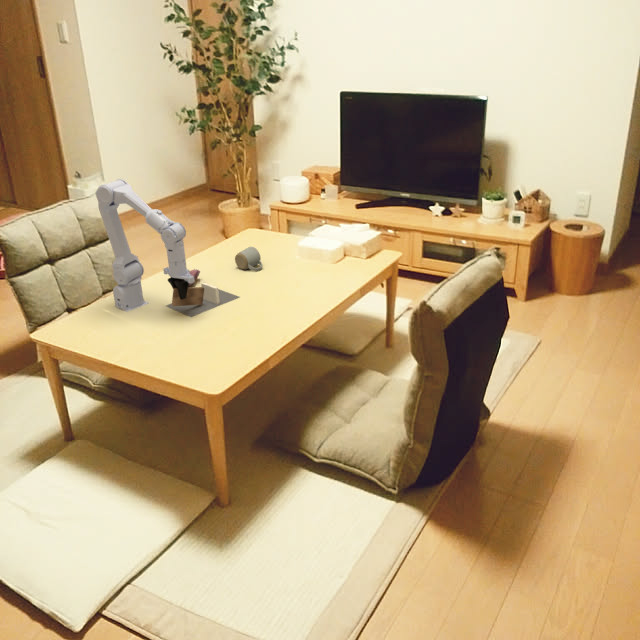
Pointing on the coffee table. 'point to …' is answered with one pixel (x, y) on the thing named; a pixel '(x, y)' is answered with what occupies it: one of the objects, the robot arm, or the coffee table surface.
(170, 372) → the coffee table surface
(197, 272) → the pink irregular lump
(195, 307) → the mat
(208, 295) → the tile
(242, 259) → the ceramic mug
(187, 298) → the brown wooden block
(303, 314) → the coffee table surface
